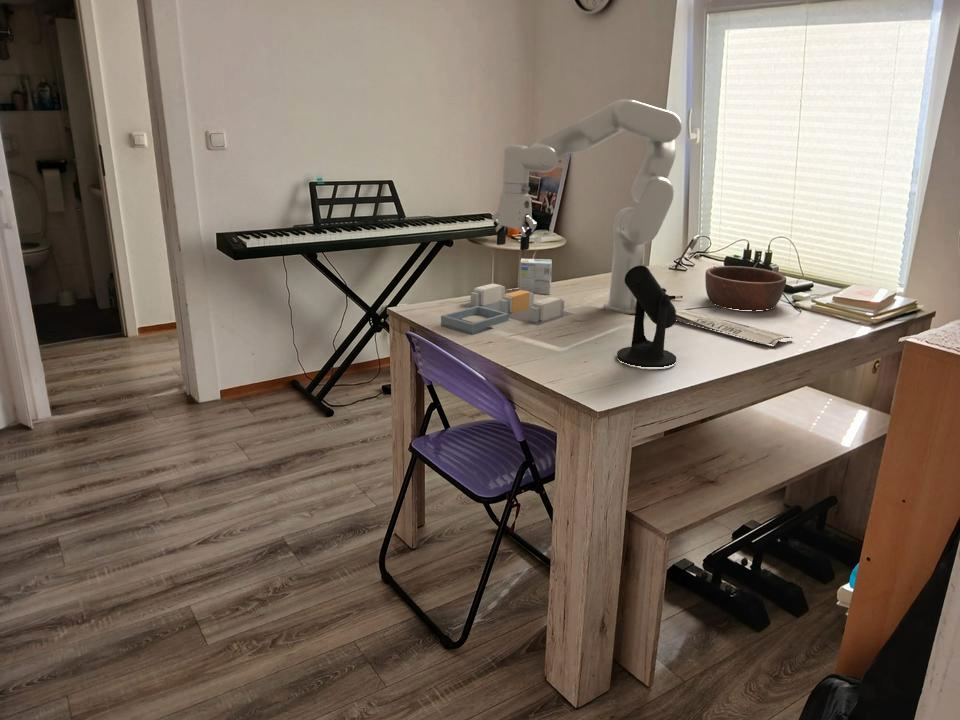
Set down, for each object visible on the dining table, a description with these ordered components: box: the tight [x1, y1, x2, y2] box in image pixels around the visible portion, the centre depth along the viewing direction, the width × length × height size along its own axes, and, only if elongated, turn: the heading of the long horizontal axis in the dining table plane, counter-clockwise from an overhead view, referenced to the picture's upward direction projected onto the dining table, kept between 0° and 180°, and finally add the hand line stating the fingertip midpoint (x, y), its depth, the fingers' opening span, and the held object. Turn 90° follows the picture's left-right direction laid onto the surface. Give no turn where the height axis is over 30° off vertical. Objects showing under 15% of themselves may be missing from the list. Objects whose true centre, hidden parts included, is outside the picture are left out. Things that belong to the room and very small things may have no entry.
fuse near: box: [533, 296, 563, 321], centre depth 228 cm, size 4×10×5 cm, turn 139°
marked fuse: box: [502, 289, 531, 313], centre depth 235 cm, size 4×10×5 cm, turn 139°
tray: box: [440, 306, 510, 336], centre depth 222 cm, size 12×16×3 cm
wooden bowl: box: [704, 265, 787, 311], centre depth 251 cm, size 25×25×10 cm
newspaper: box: [675, 308, 793, 346], centre depth 223 cm, size 35×12×4 cm, turn 42°
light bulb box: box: [518, 258, 553, 295], centre depth 259 cm, size 11×7×11 cm, turn 84°
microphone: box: [616, 265, 677, 367], centre depth 193 cm, size 15×17×25 cm
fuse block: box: [460, 285, 574, 326], centre depth 235 cm, size 30×18×5 cm, turn 49°
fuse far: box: [473, 283, 503, 306], centre depth 242 cm, size 4×10×5 cm, turn 139°
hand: (512, 247), depth 230 cm, fingers open, 9 cm apart
